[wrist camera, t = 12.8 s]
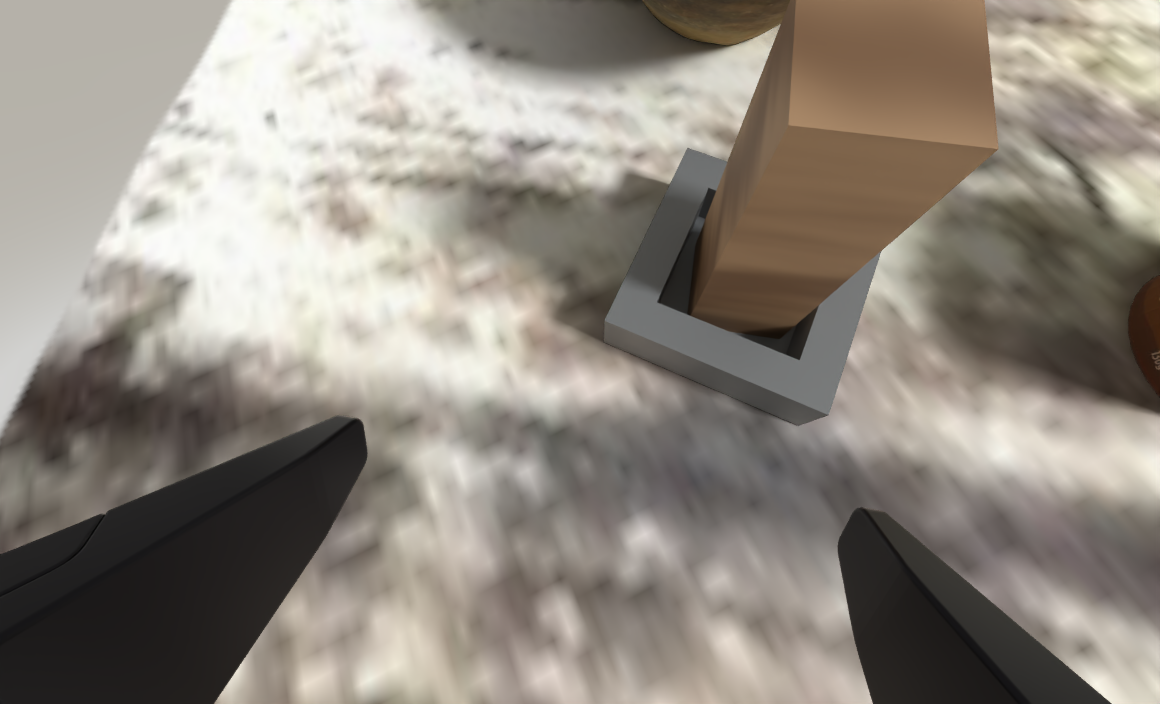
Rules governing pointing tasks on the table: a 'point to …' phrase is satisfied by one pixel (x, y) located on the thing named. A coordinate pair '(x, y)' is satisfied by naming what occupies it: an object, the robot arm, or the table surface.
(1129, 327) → the food container
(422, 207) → the table surface
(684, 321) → the socket
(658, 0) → the bowl
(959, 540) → the table surface
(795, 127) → the tall wooden post
